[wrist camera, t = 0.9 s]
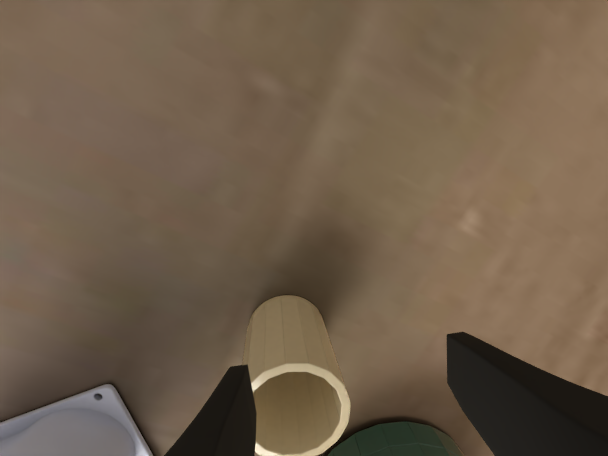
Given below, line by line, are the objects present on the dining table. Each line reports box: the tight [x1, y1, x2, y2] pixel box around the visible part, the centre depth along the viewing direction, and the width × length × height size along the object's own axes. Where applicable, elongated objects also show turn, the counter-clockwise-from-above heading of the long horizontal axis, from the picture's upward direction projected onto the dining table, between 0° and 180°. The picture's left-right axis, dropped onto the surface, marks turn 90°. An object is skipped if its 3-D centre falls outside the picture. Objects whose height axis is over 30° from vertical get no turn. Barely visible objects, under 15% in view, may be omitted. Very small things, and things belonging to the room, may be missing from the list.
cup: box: [242, 295, 351, 456], centre depth 18 cm, size 5×5×8 cm
